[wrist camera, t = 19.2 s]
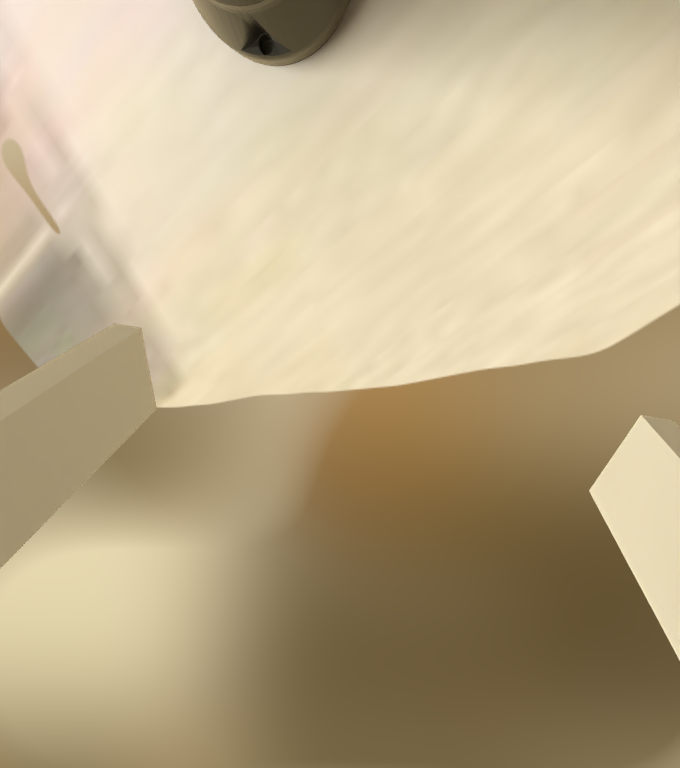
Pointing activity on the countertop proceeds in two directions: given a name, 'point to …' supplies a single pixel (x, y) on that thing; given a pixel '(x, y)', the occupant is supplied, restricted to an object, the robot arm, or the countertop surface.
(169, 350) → the countertop surface
